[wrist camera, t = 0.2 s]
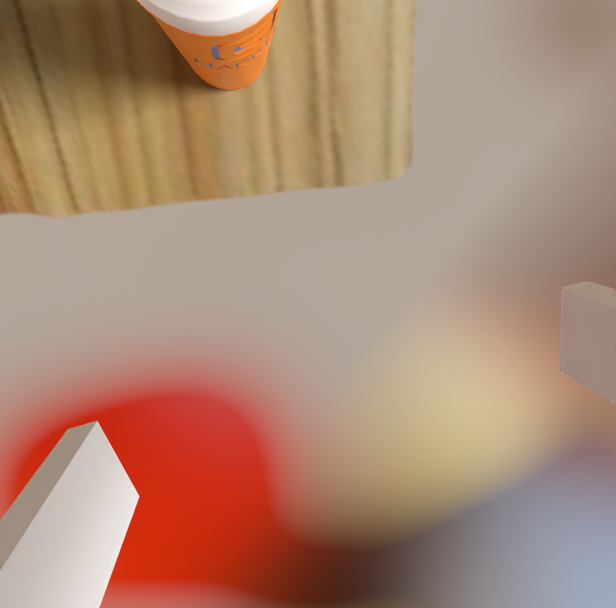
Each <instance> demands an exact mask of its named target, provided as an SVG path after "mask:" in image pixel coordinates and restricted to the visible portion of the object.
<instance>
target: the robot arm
mask: <svg viewBox="0 0 616 608" xmlns="http://www.w3.org/2000/svg"><path fill="white" fill-rule="evenodd" d="M560 352H561V353H560V354H561V355H560V371H562V372H563V373H565V374H566V375H568V376H569V377H571V378H573V379H574V380H576V381H577V382H579V383H581V384H582V385H584V386H585V387H587V388H589V389H590V390H592V391H593V392H595V393H596V394H598V395H600V396H601V397H603V398H605V399H606V400H608V401H609V402H611V403H613V404H614V405H616V290H615V289H612V288H608V287H605V286H602V285H599V284H596V283H592V282H589V281H585V282H581V283H578V284H574V285H571V286H567V287H564V288H562V298H561V351H560ZM138 498H139V495H138V493H137V492H136V490H135V488H134V486H133V484H132V483H131V481H130V479H129V477H128V475H127V474H126V472H125V470H124V468H123V467H122V465H121V463H120V461H119V460H118V457H117V456H116V454H115V452H114V450H113V449H112V447H111V445H110V443H109V441H108V440H107V438H106V436H105V434H104V432H103V431H102V429H101V427H100V425H99V423H98V422H97V421H95V422H92V423H88V424H85V425H82V426H78V427H74V428H71V429H68V430H67V431H66V433H65V434H64V435H63V437H62V438H61V439H60V441H59V442H58V443H57V445H56V446H55V447H54V449H53V450H52V451H51V453H50V454H49V455H48V457H47V458H46V460H45V461H44V462H43V464H42V465H41V466H40V468H39V469H38V470H37V472H36V473H35V474H34V476H33V477H32V479H31V480H30V481H29V483H28V484H27V485H26V487H25V488H24V489H23V491H22V492H21V493H20V495H19V496H18V498H17V499H16V500H15V501H14V503H13V504H12V506H11V507H10V508H9V510H8V511H7V512H6V514H5V515H4V516H3V518H2V519H1V520H0V608H99V606H100V604H101V601H102V598H103V595H104V593H105V590H106V587H107V584H108V581H109V579H110V576H111V573H112V570H113V568H114V565H115V562H116V559H117V556H118V554H119V551H120V548H121V545H122V543H123V540H124V537H125V534H126V531H127V529H128V526H129V523H130V520H131V518H132V515H133V512H134V509H135V507H136V504H137V501H138Z"/></svg>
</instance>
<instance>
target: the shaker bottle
mask: <svg viewBox="0 0 616 608" xmlns="http://www.w3.org/2000/svg"><path fill="white" fill-rule="evenodd" d="M136 1H137V2H138V3H139V4H140V5H141V6H142V7H143V8H144V9H145V10H146V11H147V12H148V13H150V14H151V15H152V16H153V17H154V18H155V20H156V21H157V22H158V24H159V25H160V26H161V27H162V29H163V30H164V31H165V33H166V34H167V35H168V37H169V38H170V39H171V41H172V42H173V43H174V45H175V46H176V47H177V49H178V50H179V51H180V53H181V54H182V55H183V57H184V58H185V59H186V60H187V62H188V63H189V64H190V66H191V67H192V68H193V70H194V71H195V72H196V74H197V75H198V76H199V77H201V78H202V79H203V80H204V81H205V82H207V83H208V84H210V85H212V86H214V87H217V88H220V89H225V90H236V89H239V88H243V87H245V86H247V85H249V84H250V83H251V82H253V81H254V80H255V79H256V78H257V77H258V75H259V74H260V73H261V71H262V69H263V67H264V65H265V62H266V58H267V54H268V50H269V47H270V43H271V39H272V35H273V31H274V27H275V23H276V19H277V15H278V12H279V8H280V4H281V0H136Z"/></svg>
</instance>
